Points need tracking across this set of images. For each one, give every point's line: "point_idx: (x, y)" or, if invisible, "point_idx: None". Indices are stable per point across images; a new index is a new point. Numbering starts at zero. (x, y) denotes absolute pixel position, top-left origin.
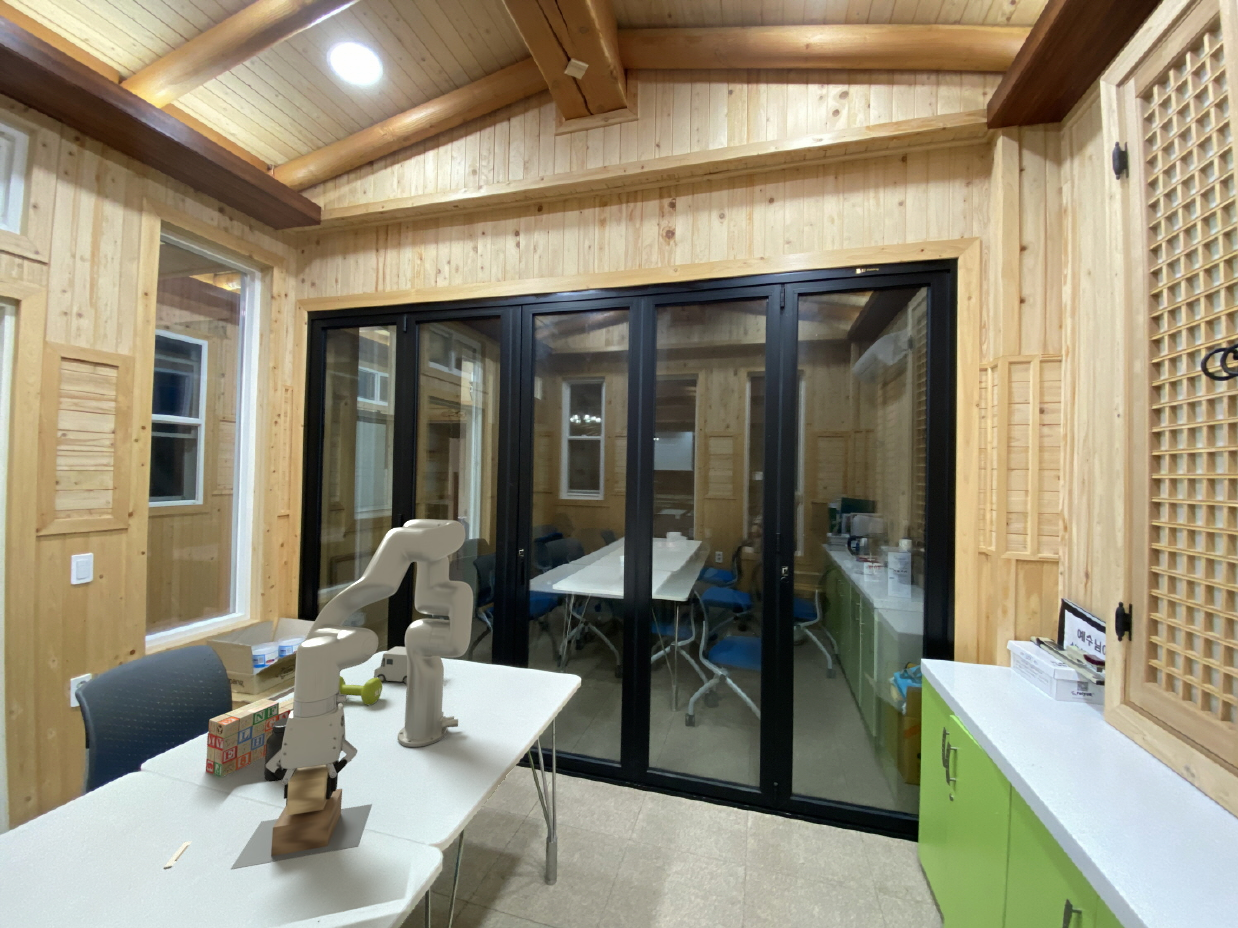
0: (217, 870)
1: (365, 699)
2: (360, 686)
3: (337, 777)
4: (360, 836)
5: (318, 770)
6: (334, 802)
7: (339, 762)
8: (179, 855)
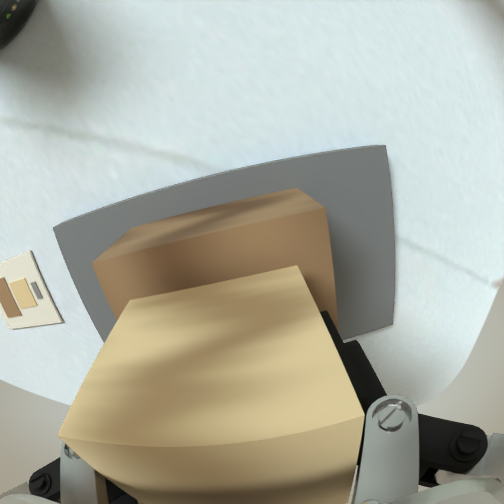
0: (91, 349)
1: None
2: None
3: (375, 378)
4: (392, 294)
5: (280, 495)
6: (330, 312)
7: (425, 468)
8: (3, 307)
